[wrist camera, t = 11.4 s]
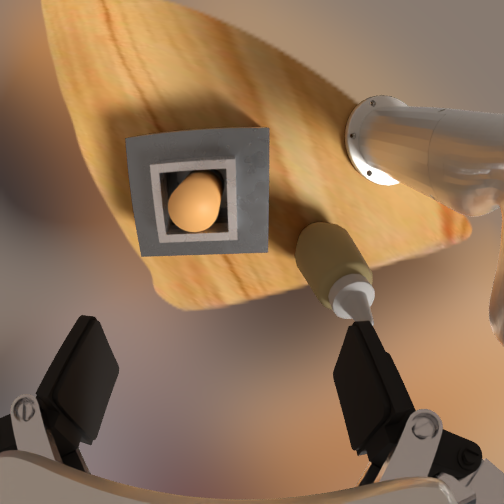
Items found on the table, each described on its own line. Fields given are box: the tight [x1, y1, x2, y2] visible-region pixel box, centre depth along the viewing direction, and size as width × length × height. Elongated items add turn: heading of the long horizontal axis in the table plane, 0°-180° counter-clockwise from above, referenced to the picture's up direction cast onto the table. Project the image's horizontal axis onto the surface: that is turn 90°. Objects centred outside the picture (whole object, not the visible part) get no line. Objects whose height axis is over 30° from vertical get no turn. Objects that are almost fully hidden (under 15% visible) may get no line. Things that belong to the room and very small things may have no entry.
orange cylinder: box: [168, 169, 224, 232], centre depth 27 cm, size 4×4×9 cm
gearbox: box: [125, 127, 269, 257], centre depth 29 cm, size 14×13×10 cm
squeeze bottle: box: [295, 222, 375, 326], centre depth 30 cm, size 8×8×18 cm
